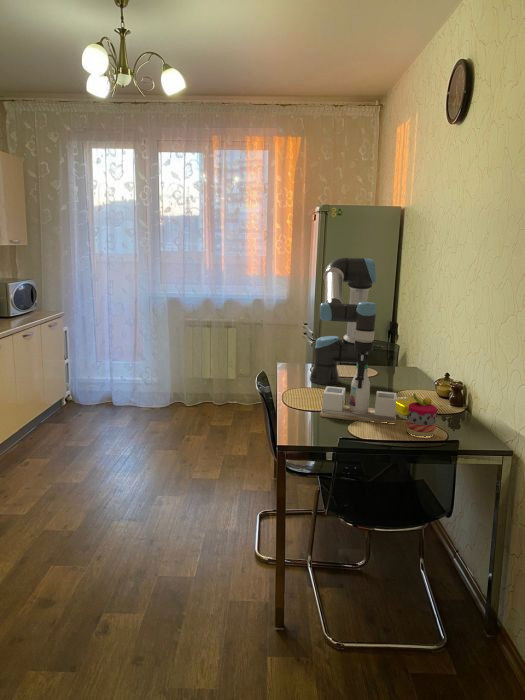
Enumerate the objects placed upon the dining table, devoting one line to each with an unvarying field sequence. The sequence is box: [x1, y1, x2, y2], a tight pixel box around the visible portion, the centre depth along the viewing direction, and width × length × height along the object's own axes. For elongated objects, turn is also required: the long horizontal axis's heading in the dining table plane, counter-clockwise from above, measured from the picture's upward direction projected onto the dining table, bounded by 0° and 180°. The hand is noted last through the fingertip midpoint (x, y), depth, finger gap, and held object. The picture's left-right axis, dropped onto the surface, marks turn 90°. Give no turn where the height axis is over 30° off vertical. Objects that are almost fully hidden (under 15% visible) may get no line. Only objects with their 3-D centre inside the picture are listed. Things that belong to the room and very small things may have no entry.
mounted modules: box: [321, 385, 397, 417], centre depth 218 cm, size 12×29×8 cm, turn 76°
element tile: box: [396, 395, 435, 417], centre depth 230 cm, size 15×15×5 cm
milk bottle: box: [349, 363, 371, 413], centre depth 217 cm, size 8×8×20 cm
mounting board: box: [319, 404, 397, 424], centre depth 219 cm, size 15×30×3 cm, turn 76°
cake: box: [405, 393, 438, 437], centre depth 198 cm, size 10×11×15 cm
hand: (360, 391), depth 217 cm, fingers open, 13 cm apart
